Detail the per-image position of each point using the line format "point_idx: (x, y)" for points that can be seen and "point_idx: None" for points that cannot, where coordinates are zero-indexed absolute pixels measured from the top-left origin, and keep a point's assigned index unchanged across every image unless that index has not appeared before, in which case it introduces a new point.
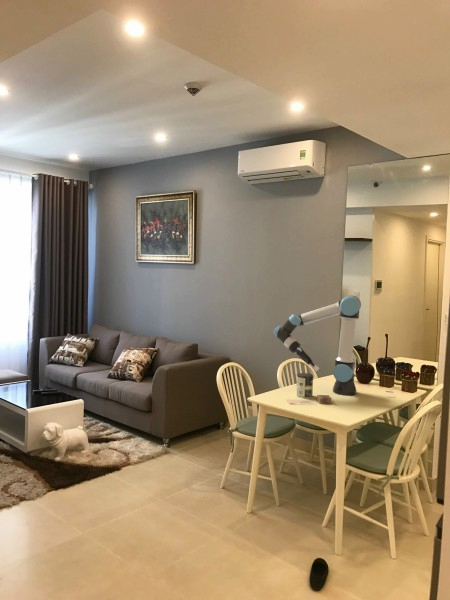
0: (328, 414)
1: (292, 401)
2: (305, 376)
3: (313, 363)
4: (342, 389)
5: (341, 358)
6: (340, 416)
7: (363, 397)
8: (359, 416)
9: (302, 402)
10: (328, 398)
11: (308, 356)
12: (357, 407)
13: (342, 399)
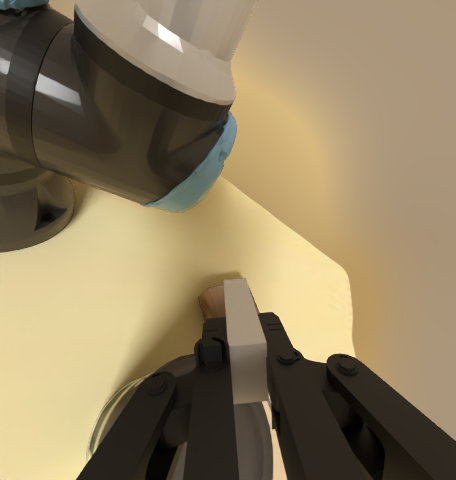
0: (321, 305)
1: (276, 477)
2: (268, 424)
3: (282, 326)
4: (62, 206)
5: (228, 69)
6: (317, 277)
7: None
8: (294, 238)
9: (267, 412)
10: (250, 291)
11: (414, 413)
12: (232, 222)
13: (154, 240)
